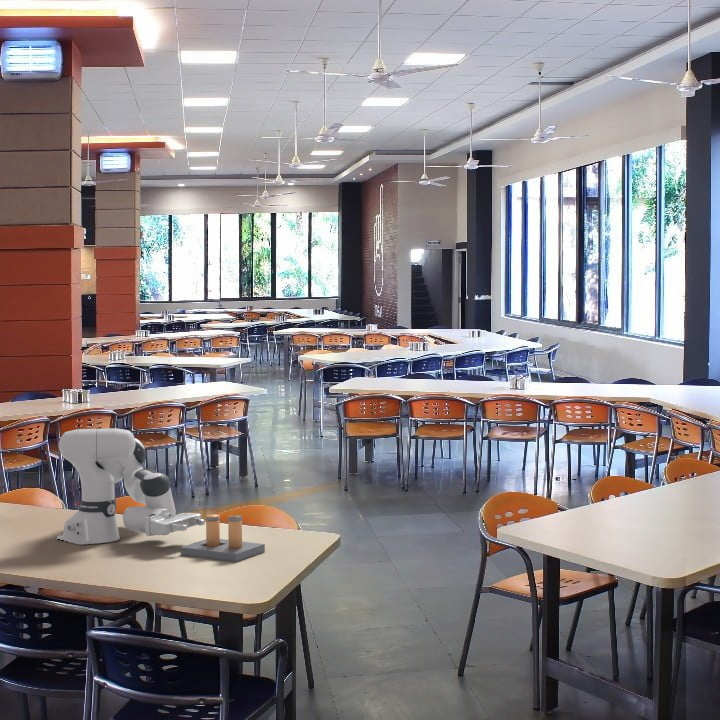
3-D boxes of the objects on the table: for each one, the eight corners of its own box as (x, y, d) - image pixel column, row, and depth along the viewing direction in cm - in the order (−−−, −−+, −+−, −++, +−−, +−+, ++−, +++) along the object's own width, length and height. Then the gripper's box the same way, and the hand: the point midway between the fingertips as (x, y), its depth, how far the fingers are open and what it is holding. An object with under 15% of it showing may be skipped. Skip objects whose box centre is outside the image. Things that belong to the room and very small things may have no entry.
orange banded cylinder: (204, 553, 326) (203, 516, 325) (209, 550, 330) (209, 514, 330) (217, 553, 325) (216, 517, 324) (222, 550, 329) (221, 514, 329)
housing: (180, 554, 324) (180, 516, 323) (210, 545, 338) (210, 508, 337) (236, 561, 313) (235, 522, 313) (264, 551, 327) (264, 513, 327)
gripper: (182, 525, 347) (214, 528, 340) (142, 536, 329) (174, 540, 322) (182, 507, 347) (213, 510, 340) (141, 517, 329) (174, 521, 322)
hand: (194, 525), depth 331 cm, fingers open, 8 cm apart
